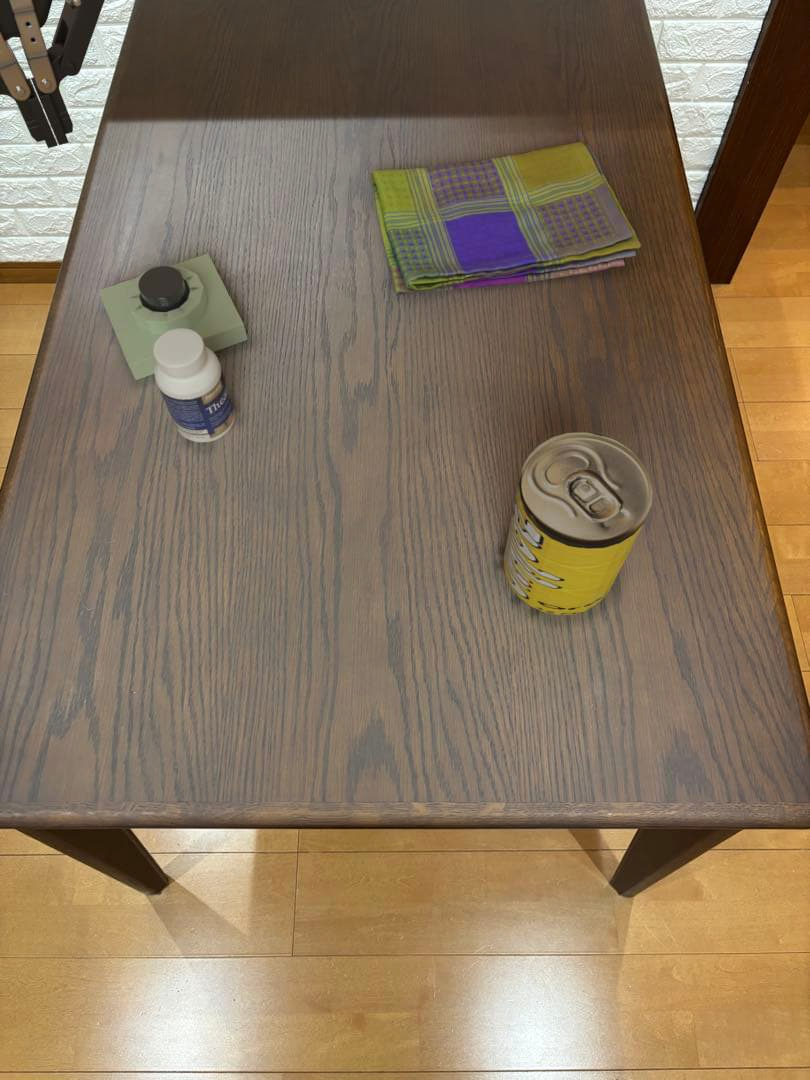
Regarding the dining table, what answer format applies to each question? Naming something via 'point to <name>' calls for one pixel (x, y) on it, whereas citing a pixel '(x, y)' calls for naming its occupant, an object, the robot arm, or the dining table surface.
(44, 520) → the dining table surface
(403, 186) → the dish towel
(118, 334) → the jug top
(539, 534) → the beverage can
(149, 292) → the lid button
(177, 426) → the pill bottle
